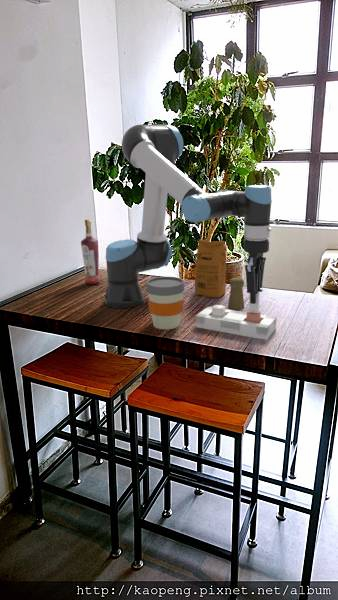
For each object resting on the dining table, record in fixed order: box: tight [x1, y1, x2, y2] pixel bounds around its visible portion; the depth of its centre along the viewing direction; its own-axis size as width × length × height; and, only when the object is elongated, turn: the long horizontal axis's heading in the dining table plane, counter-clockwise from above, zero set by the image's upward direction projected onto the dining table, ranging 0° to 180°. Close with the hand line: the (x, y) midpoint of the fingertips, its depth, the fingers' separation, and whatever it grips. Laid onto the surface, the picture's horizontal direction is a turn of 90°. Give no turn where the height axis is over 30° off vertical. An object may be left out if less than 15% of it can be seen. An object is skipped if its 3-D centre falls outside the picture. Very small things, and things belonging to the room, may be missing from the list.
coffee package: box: [194, 238, 227, 299], centre depth 179 cm, size 10×12×22 cm
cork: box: [227, 277, 245, 311], centre depth 165 cm, size 6×6×11 cm
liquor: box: [80, 218, 101, 286], centre depth 196 cm, size 7×7×28 cm
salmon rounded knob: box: [246, 310, 262, 324], centre depth 144 cm, size 4×4×4 cm
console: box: [195, 305, 277, 340], centre depth 148 cm, size 24×10×4 cm, turn 61°
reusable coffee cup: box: [146, 276, 186, 330], centre depth 150 cm, size 13×13×15 cm
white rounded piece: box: [211, 304, 226, 318], centre depth 150 cm, size 4×4×4 cm
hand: (253, 311), depth 143 cm, fingers closed
